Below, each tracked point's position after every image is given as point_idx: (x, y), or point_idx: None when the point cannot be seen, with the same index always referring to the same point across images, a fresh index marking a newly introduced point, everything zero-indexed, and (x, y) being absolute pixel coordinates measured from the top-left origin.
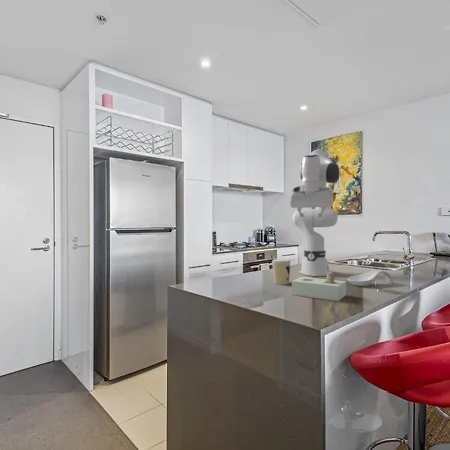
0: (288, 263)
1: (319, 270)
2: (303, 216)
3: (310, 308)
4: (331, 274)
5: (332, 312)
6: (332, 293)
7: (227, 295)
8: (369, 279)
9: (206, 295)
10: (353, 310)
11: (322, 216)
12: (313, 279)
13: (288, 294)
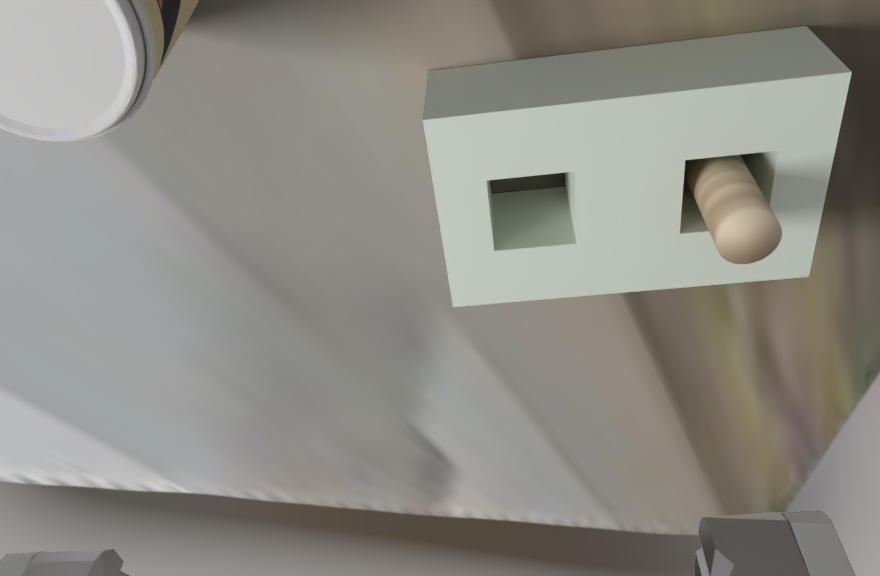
0: (152, 39)
1: None
2: (107, 565)
3: (663, 399)
4: (762, 254)
5: (774, 396)
6: None
7: (201, 438)
8: None
9: (135, 482)
10: (872, 324)
11: (819, 532)
12: (566, 169)
13: (434, 254)
